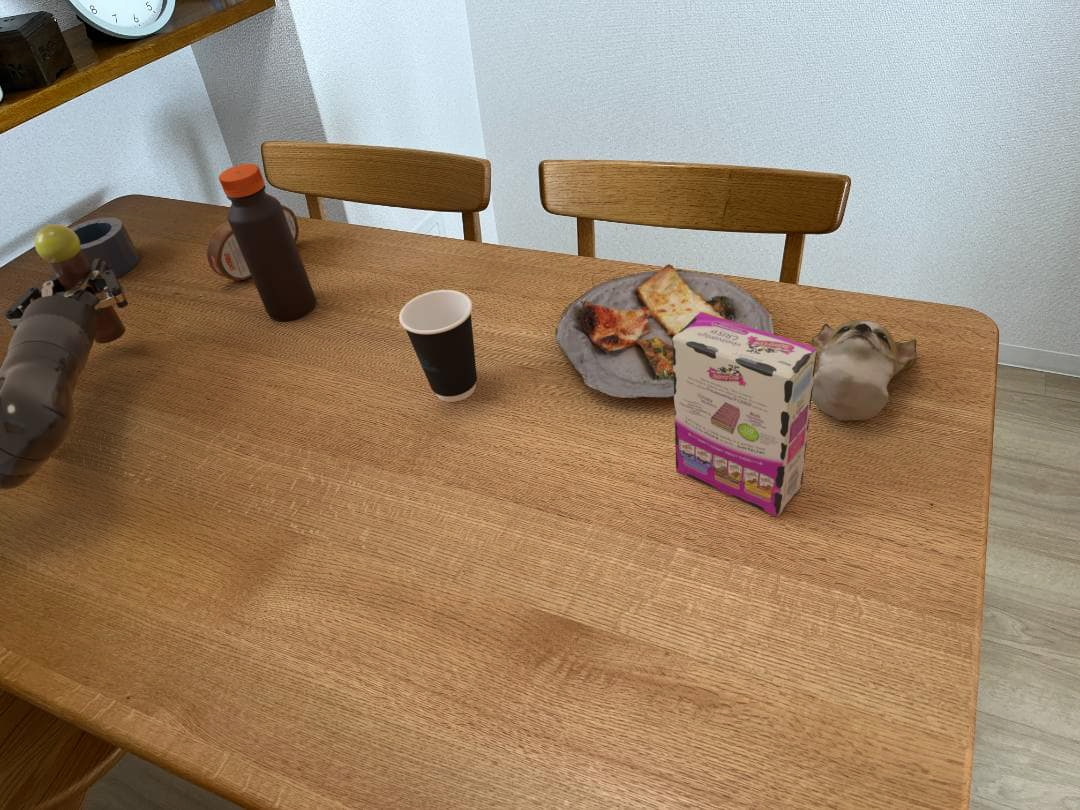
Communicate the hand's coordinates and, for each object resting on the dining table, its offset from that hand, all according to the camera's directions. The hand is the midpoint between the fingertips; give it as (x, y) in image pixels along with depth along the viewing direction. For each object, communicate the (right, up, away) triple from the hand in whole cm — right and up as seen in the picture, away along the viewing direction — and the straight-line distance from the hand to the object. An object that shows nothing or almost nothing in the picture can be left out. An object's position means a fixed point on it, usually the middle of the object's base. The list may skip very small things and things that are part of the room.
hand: (82, 269), depth 103 cm
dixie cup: (+49, -16, -10) cm, 52 cm away
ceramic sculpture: (+92, -16, -19) cm, 95 cm away
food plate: (+73, -10, -8) cm, 74 cm away
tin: (+17, +3, +18) cm, 25 cm away
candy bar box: (+78, -25, -26) cm, 85 cm away
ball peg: (+2, -8, +4) cm, 9 cm away
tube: (-10, +4, +24) cm, 27 cm away
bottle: (+25, -4, +8) cm, 26 cm away
